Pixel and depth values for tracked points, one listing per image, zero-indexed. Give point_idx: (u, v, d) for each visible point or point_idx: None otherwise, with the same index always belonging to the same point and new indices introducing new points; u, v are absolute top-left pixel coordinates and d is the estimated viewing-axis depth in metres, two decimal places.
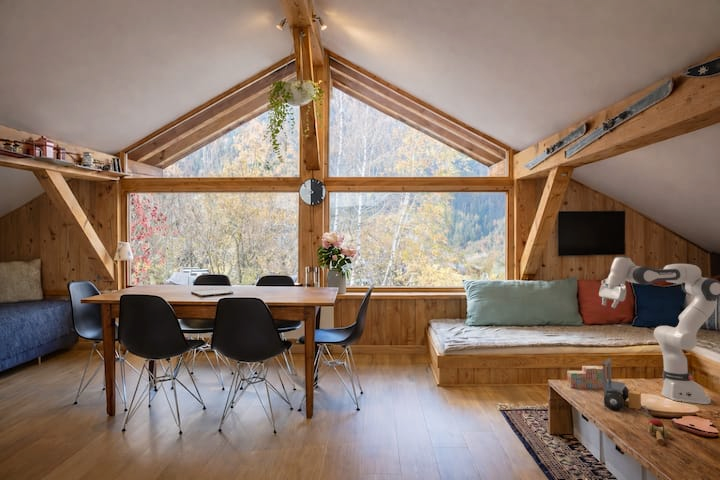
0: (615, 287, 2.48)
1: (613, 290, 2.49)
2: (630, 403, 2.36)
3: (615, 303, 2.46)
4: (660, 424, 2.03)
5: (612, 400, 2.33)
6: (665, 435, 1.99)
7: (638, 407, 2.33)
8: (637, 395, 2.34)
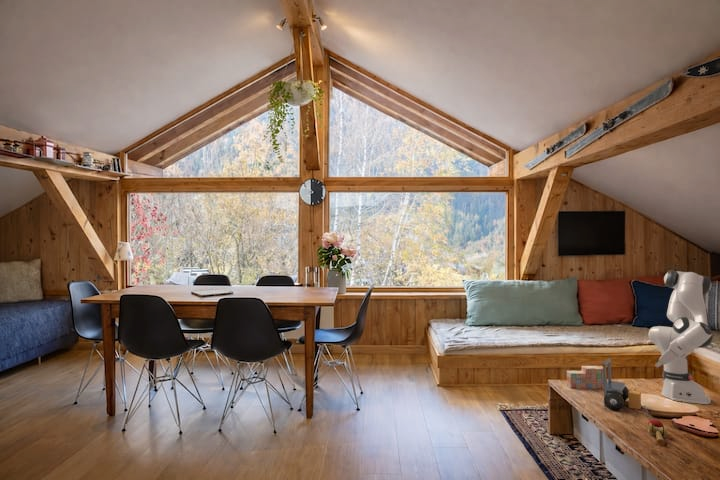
0: None
1: None
2: (630, 403, 2.36)
3: None
4: (660, 424, 2.03)
5: (612, 400, 2.33)
6: (665, 435, 1.98)
7: (638, 407, 2.33)
8: (637, 395, 2.34)
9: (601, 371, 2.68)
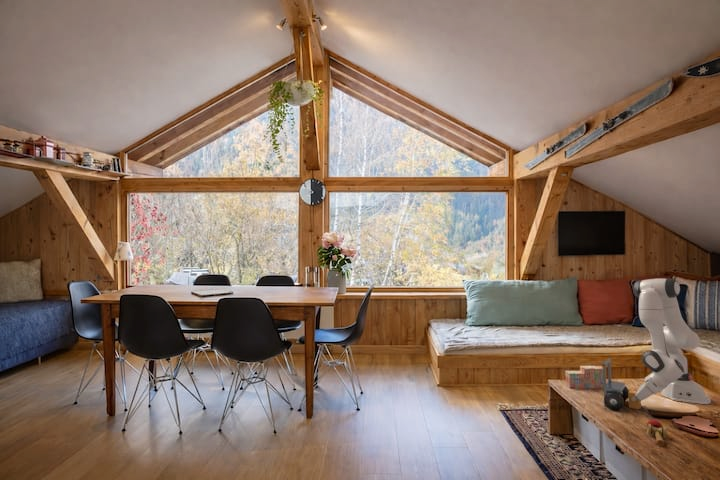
0: None
1: None
2: (630, 403, 2.36)
3: None
4: (659, 425, 2.02)
5: (612, 400, 2.33)
6: (664, 436, 1.98)
7: (638, 407, 2.33)
8: None
9: (600, 371, 2.68)
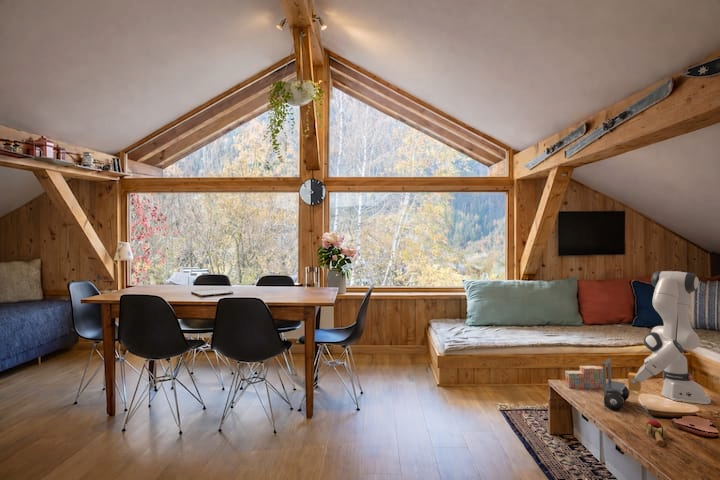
0: None
1: None
2: (630, 385, 2.36)
3: None
4: (658, 425, 2.02)
5: (612, 400, 2.33)
6: (664, 436, 1.98)
7: (638, 389, 2.34)
8: None
9: (599, 371, 2.68)
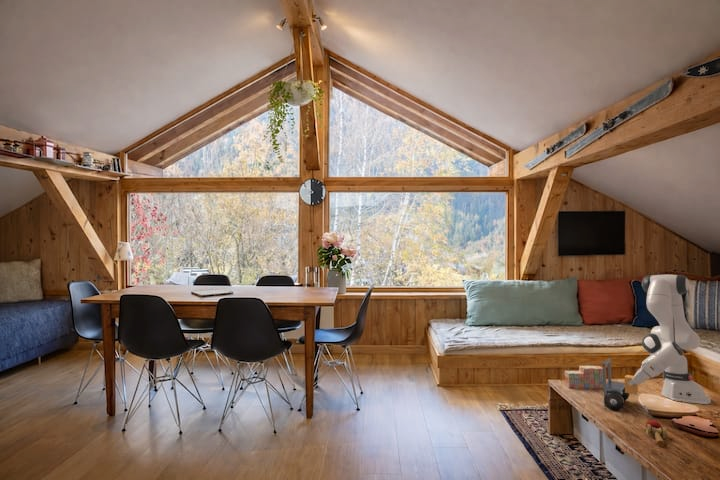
0: None
1: None
2: (626, 388, 2.27)
3: None
4: (658, 425, 2.02)
5: (612, 400, 2.33)
6: (664, 436, 1.97)
7: (635, 392, 2.25)
8: None
9: (599, 371, 2.68)
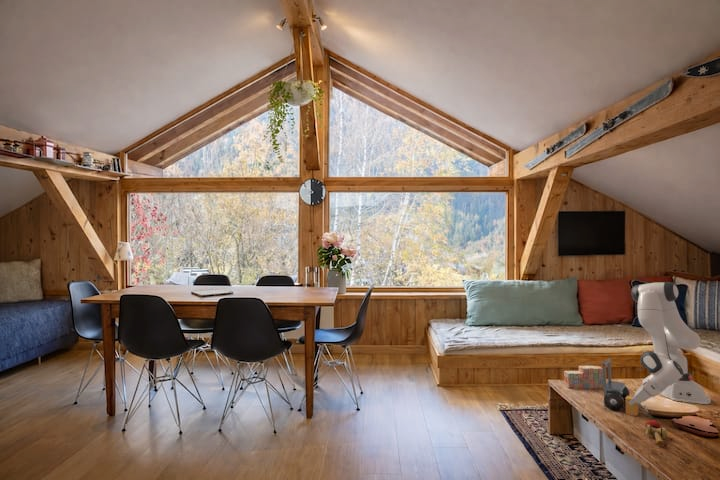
0: None
1: None
2: (627, 409, 2.27)
3: None
4: (657, 425, 2.02)
5: (612, 400, 2.33)
6: (663, 436, 1.97)
7: (636, 413, 2.25)
8: None
9: (598, 371, 2.69)
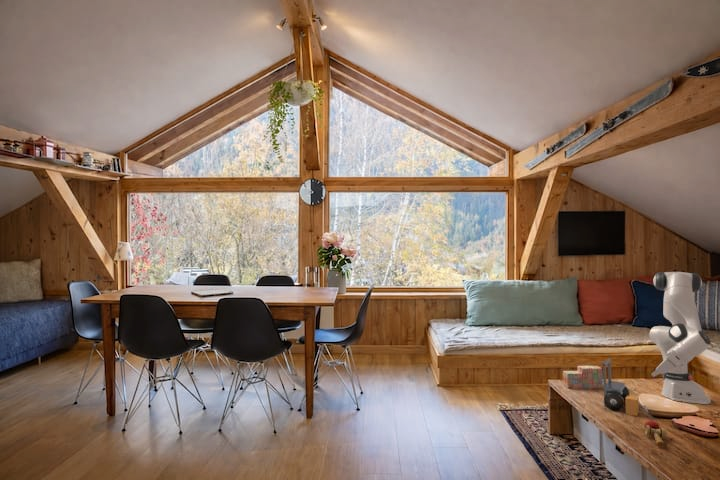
0: None
1: None
2: (627, 409, 2.27)
3: None
4: (657, 426, 2.01)
5: (612, 400, 2.33)
6: (663, 437, 1.97)
7: (636, 413, 2.25)
8: (634, 401, 2.25)
9: (597, 371, 2.69)
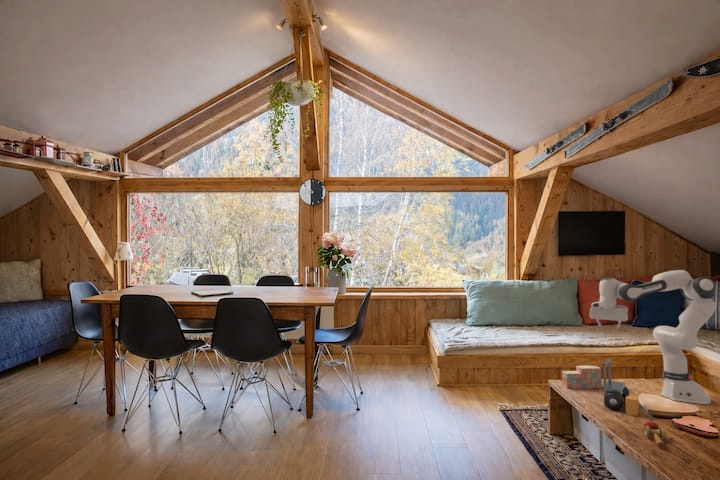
0: (615, 309, 2.64)
1: (612, 312, 2.65)
2: (627, 409, 2.27)
3: (619, 323, 2.64)
4: (656, 426, 2.01)
5: (612, 400, 2.33)
6: (662, 438, 1.96)
7: (636, 413, 2.25)
8: (634, 401, 2.25)
9: (596, 371, 2.69)
